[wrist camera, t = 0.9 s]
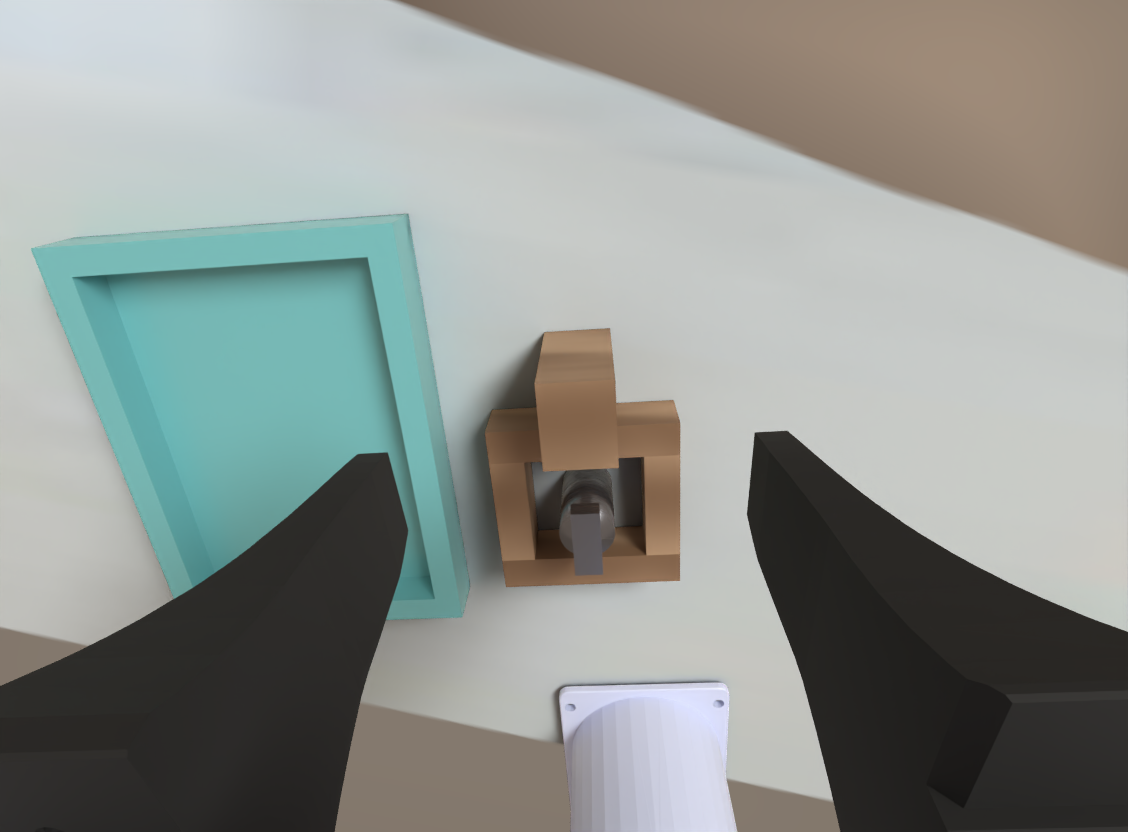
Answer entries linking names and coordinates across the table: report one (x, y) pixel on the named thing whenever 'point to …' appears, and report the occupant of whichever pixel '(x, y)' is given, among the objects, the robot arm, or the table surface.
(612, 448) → the collar
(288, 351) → the tray
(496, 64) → the table surface
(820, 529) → the robot arm
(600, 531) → the stake
